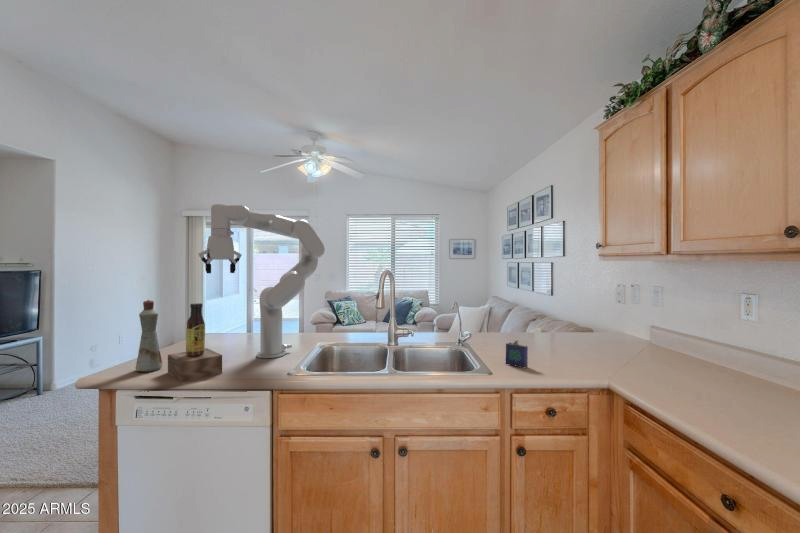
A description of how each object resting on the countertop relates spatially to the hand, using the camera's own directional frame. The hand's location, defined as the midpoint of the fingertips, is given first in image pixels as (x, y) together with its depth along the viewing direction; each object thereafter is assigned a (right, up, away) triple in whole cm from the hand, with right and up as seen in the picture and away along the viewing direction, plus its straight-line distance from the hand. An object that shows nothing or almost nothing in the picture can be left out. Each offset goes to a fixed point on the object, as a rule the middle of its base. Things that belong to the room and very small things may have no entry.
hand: (220, 273), depth 150 cm
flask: (+126, -39, -5) cm, 132 cm away
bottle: (-23, -39, -12) cm, 46 cm away
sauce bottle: (-2, -32, -15) cm, 35 cm away
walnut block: (-2, -38, -15) cm, 41 cm away
